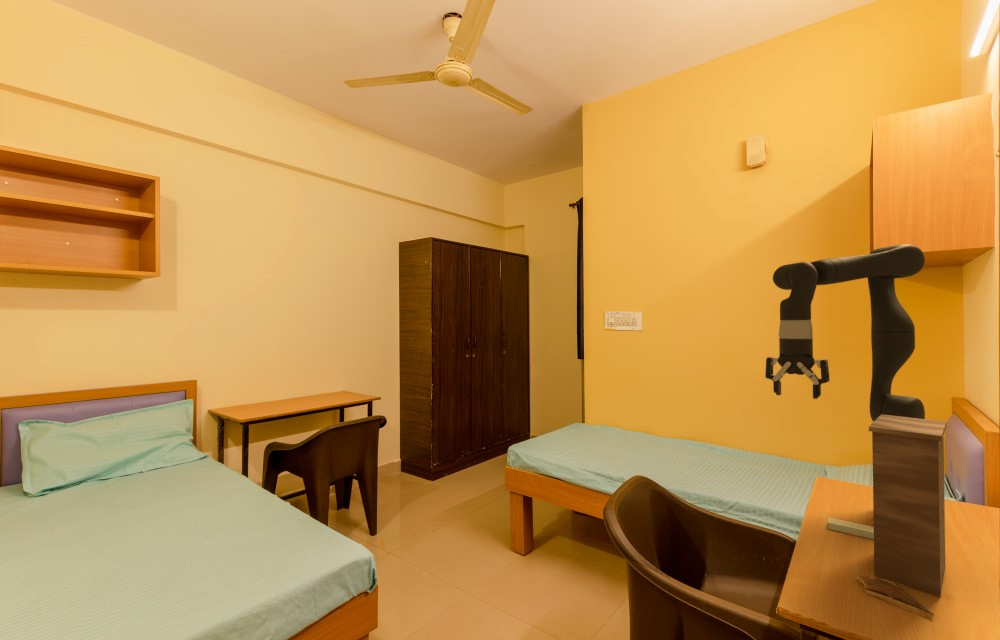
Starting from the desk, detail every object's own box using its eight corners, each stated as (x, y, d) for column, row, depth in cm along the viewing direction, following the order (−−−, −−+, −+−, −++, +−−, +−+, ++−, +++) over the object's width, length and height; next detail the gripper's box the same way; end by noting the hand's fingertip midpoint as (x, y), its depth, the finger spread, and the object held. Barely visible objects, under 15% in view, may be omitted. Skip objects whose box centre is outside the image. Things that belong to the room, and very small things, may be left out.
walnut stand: (883, 547, 105) (881, 414, 105) (948, 566, 97) (946, 421, 97) (871, 575, 94) (868, 426, 94) (944, 599, 86) (941, 436, 86)
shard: (934, 622, 80) (934, 613, 80) (886, 617, 81) (886, 608, 81) (893, 587, 91) (893, 578, 91) (851, 583, 92) (851, 574, 92)
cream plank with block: (828, 524, 118) (828, 509, 118) (931, 547, 106) (931, 531, 106) (827, 530, 115) (827, 514, 115) (934, 554, 102) (934, 537, 102)
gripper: (831, 336, 116) (832, 398, 116) (770, 336, 126) (771, 392, 126) (824, 337, 111) (825, 401, 111) (761, 336, 121) (762, 395, 121)
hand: (796, 396), depth 119 cm, fingers open, 8 cm apart
